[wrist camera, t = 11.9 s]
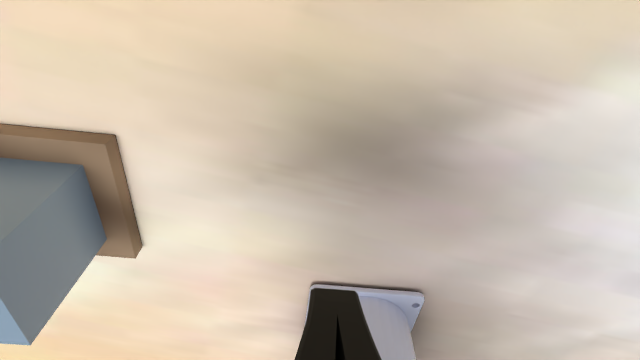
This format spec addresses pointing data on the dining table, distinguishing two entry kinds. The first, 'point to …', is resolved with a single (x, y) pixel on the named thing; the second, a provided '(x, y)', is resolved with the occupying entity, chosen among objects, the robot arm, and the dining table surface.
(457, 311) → the dining table surface
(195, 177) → the dining table surface
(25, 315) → the blue-grey block
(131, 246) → the board
